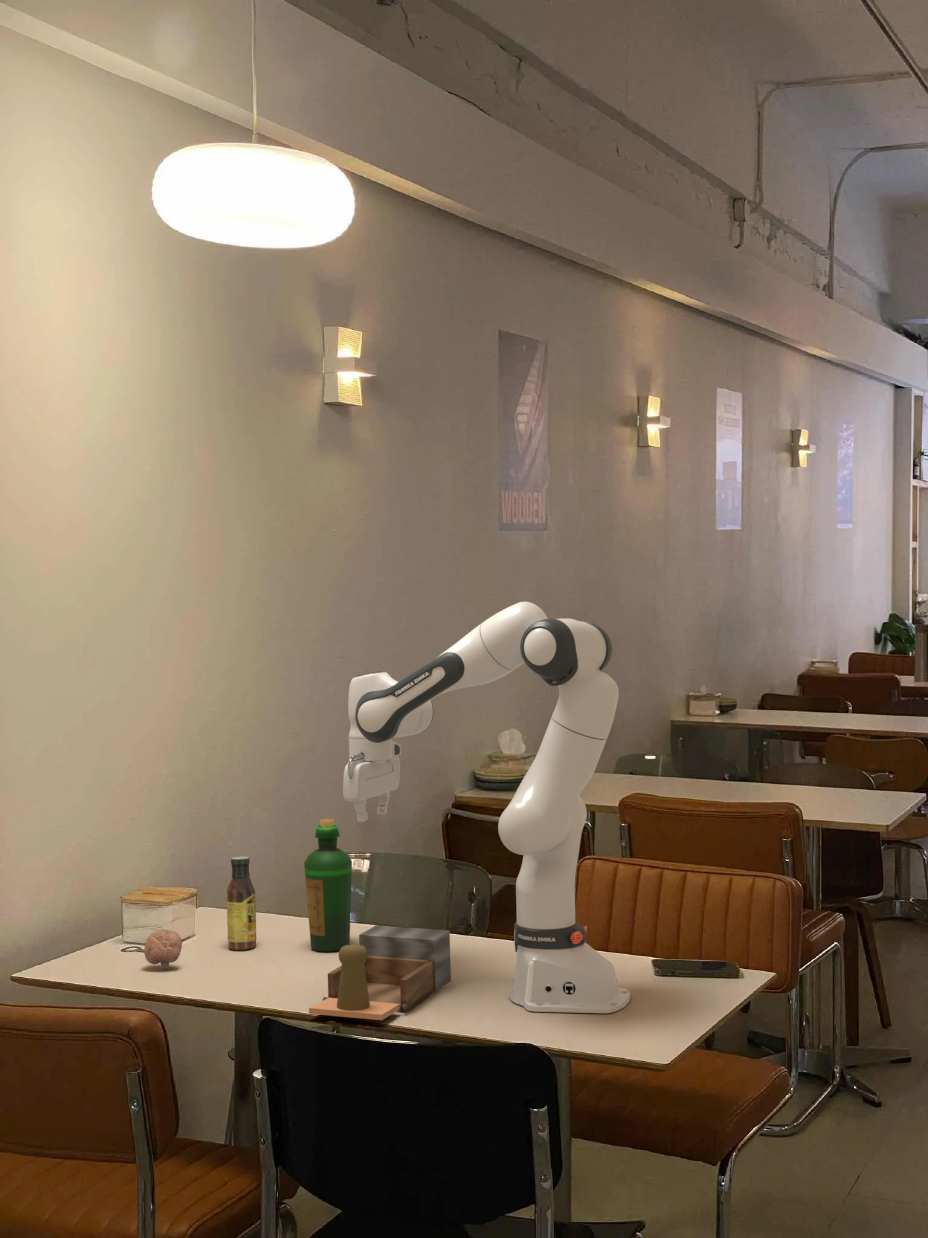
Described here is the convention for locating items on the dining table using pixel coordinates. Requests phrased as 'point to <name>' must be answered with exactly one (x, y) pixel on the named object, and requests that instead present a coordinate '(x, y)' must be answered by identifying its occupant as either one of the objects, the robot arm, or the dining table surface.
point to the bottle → (328, 891)
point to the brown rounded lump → (163, 947)
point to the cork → (353, 979)
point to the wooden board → (373, 1012)
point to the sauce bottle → (241, 906)
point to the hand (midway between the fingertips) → (372, 818)
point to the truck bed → (402, 965)
